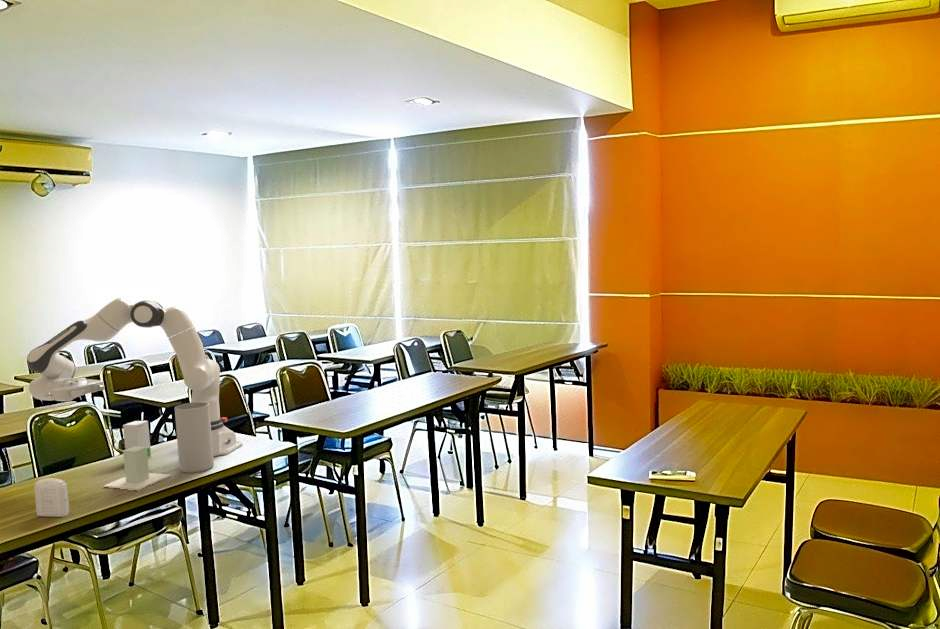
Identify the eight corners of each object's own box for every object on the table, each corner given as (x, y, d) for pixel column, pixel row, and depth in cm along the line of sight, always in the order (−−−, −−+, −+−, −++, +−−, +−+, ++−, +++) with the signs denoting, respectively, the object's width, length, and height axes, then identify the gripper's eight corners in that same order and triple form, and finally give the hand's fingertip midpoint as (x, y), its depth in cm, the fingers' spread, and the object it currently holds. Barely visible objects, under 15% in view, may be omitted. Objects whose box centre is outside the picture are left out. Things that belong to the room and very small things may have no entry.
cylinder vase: (174, 474, 278) (169, 410, 275) (187, 464, 290) (182, 402, 288) (207, 472, 278) (201, 408, 275) (218, 463, 290) (213, 401, 288)
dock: (137, 473, 280) (135, 455, 279) (170, 476, 275) (168, 457, 274) (103, 487, 265) (101, 468, 264) (138, 490, 260) (136, 471, 259)
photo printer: (72, 512, 240) (68, 476, 239) (63, 517, 236) (59, 480, 235) (44, 512, 242) (40, 476, 241) (34, 517, 238) (30, 480, 236)
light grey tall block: (137, 477, 273) (134, 446, 272) (149, 478, 272) (146, 447, 270) (125, 481, 268) (122, 450, 267) (137, 482, 266) (134, 451, 265)
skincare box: (139, 462, 295) (135, 425, 294) (124, 462, 297) (121, 425, 295) (152, 456, 304) (148, 420, 302) (138, 456, 305) (134, 420, 303)
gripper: (41, 387, 272) (69, 387, 267) (86, 376, 291) (113, 377, 286) (42, 403, 272) (70, 404, 268) (87, 392, 291) (114, 393, 287)
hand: (93, 390), depth 277 cm, fingers open, 8 cm apart
